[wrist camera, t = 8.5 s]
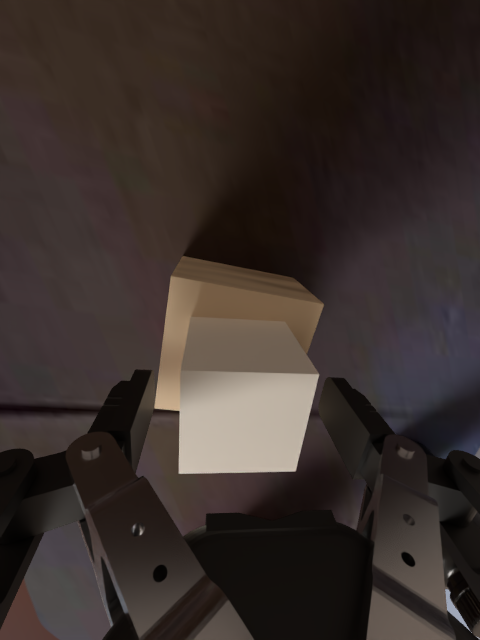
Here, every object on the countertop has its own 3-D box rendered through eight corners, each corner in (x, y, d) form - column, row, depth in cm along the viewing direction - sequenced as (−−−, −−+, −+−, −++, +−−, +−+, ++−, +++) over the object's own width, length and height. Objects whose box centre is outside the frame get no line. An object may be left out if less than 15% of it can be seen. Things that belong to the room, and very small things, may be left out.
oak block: (182, 255, 19) (171, 276, 13) (292, 277, 20) (324, 304, 14) (169, 356, 21) (154, 408, 16) (266, 369, 23) (283, 421, 17)
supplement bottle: (390, 429, 27) (516, 587, 16) (440, 447, 28) (585, 600, 17) (351, 476, 29) (438, 644, 18) (399, 490, 30) (506, 650, 19)
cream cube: (190, 316, 14) (180, 370, 9) (285, 321, 15) (318, 374, 10) (188, 396, 16) (178, 473, 11) (272, 397, 16) (295, 471, 12)
